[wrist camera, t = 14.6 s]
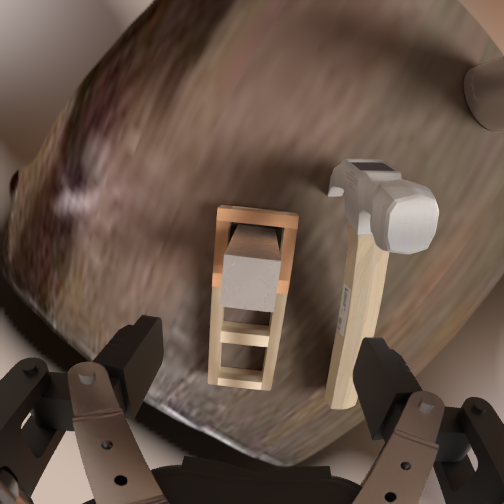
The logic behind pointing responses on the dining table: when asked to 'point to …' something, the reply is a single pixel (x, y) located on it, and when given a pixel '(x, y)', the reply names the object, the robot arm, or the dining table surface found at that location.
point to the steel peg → (251, 269)
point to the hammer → (372, 254)
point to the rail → (244, 331)
